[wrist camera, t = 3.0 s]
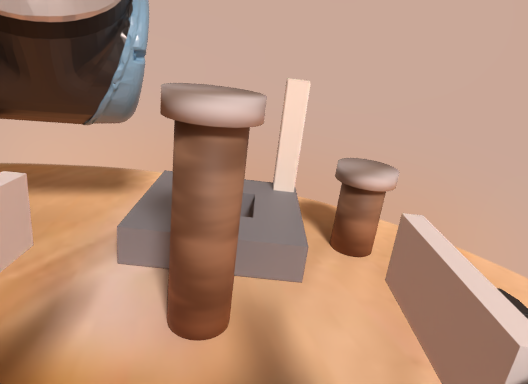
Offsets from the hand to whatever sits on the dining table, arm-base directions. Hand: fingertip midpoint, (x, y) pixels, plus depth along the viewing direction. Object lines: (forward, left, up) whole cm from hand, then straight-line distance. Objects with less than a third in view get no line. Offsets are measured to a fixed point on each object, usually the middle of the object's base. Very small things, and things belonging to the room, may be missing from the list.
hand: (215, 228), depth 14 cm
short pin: (-4, +27, -12) cm, 30 cm away
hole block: (-15, +19, -12) cm, 27 cm away
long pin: (-7, +8, -12) cm, 16 cm away
